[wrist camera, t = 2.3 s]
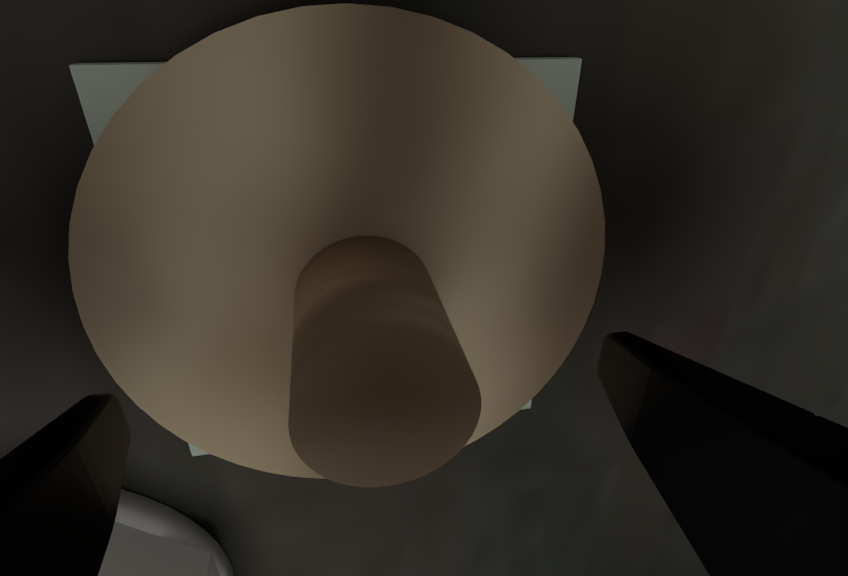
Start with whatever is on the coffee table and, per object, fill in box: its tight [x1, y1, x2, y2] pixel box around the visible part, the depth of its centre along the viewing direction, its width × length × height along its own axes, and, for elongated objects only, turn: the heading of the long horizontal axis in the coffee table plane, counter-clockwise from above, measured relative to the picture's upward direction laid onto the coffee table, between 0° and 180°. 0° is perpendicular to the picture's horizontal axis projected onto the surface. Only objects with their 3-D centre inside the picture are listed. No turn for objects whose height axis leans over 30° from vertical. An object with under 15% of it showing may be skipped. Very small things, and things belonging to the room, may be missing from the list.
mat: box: [69, 57, 582, 456], centre depth 12 cm, size 10×10×1 cm
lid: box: [68, 3, 605, 487], centre depth 10 cm, size 12×12×5 cm
